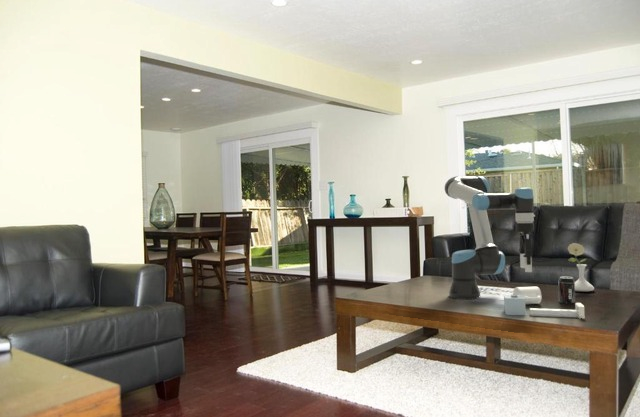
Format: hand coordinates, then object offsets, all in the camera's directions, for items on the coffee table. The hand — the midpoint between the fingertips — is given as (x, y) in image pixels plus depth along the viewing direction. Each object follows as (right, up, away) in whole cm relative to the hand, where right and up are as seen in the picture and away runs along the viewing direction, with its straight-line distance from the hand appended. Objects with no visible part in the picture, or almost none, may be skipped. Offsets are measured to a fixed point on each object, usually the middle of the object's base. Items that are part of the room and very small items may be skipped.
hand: (526, 270), depth 222 cm
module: (-8, -18, -7) cm, 21 cm away
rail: (+6, -17, -14) cm, 23 cm away
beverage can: (+23, -17, +10) cm, 30 cm away
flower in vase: (+44, -16, +37) cm, 60 cm away
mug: (+5, -17, +8) cm, 20 cm away
